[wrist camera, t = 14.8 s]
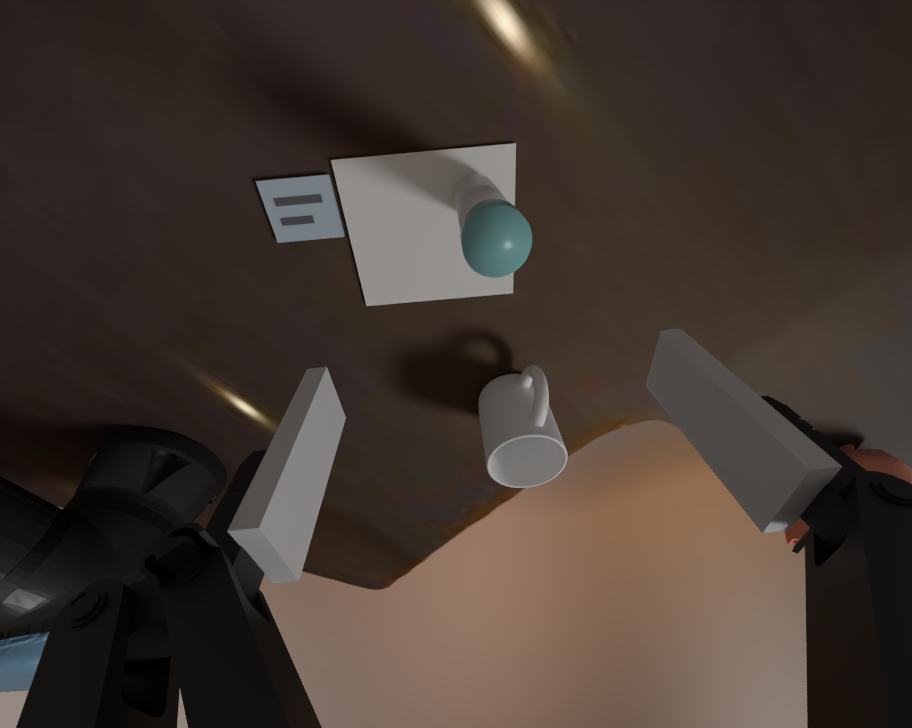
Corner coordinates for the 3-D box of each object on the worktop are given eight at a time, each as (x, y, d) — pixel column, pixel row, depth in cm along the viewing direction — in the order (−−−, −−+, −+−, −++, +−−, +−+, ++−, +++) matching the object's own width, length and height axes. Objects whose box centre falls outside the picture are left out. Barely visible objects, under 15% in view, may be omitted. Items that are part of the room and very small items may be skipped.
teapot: (720, 496, 59) (789, 589, 48) (752, 445, 52) (842, 540, 40) (852, 486, 59) (953, 576, 48) (902, 433, 52) (1035, 525, 40)
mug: (496, 339, 40) (511, 400, 31) (564, 351, 41) (597, 412, 32) (470, 416, 46) (477, 484, 38) (530, 424, 47) (550, 491, 39)
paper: (366, 304, 36) (366, 306, 36) (331, 159, 29) (330, 160, 29) (512, 291, 36) (513, 293, 36) (515, 143, 29) (515, 143, 28)
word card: (279, 241, 32) (277, 243, 32) (257, 180, 29) (255, 181, 29) (344, 235, 32) (343, 237, 32) (329, 174, 29) (327, 174, 29)
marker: (454, 221, 32) (464, 280, 20) (450, 173, 30) (459, 210, 18) (497, 216, 32) (531, 274, 20) (496, 168, 29) (533, 202, 18)
